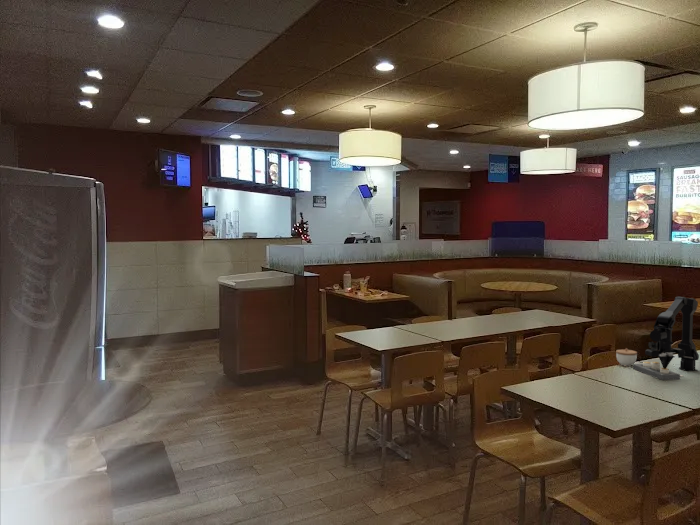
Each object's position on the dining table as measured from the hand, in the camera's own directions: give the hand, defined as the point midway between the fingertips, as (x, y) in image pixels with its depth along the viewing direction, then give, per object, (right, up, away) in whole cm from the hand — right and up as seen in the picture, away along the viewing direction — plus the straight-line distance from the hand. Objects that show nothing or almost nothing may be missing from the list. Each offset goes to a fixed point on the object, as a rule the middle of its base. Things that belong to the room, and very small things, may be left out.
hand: (664, 368), depth 291 cm
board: (-1, -4, +7) cm, 8 cm away
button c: (0, -4, 0) cm, 4 cm away
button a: (-2, -3, +14) cm, 15 cm away
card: (+7, -4, +8) cm, 12 cm away
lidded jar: (-6, -3, +28) cm, 29 cm away
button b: (-1, -2, +7) cm, 7 cm away
